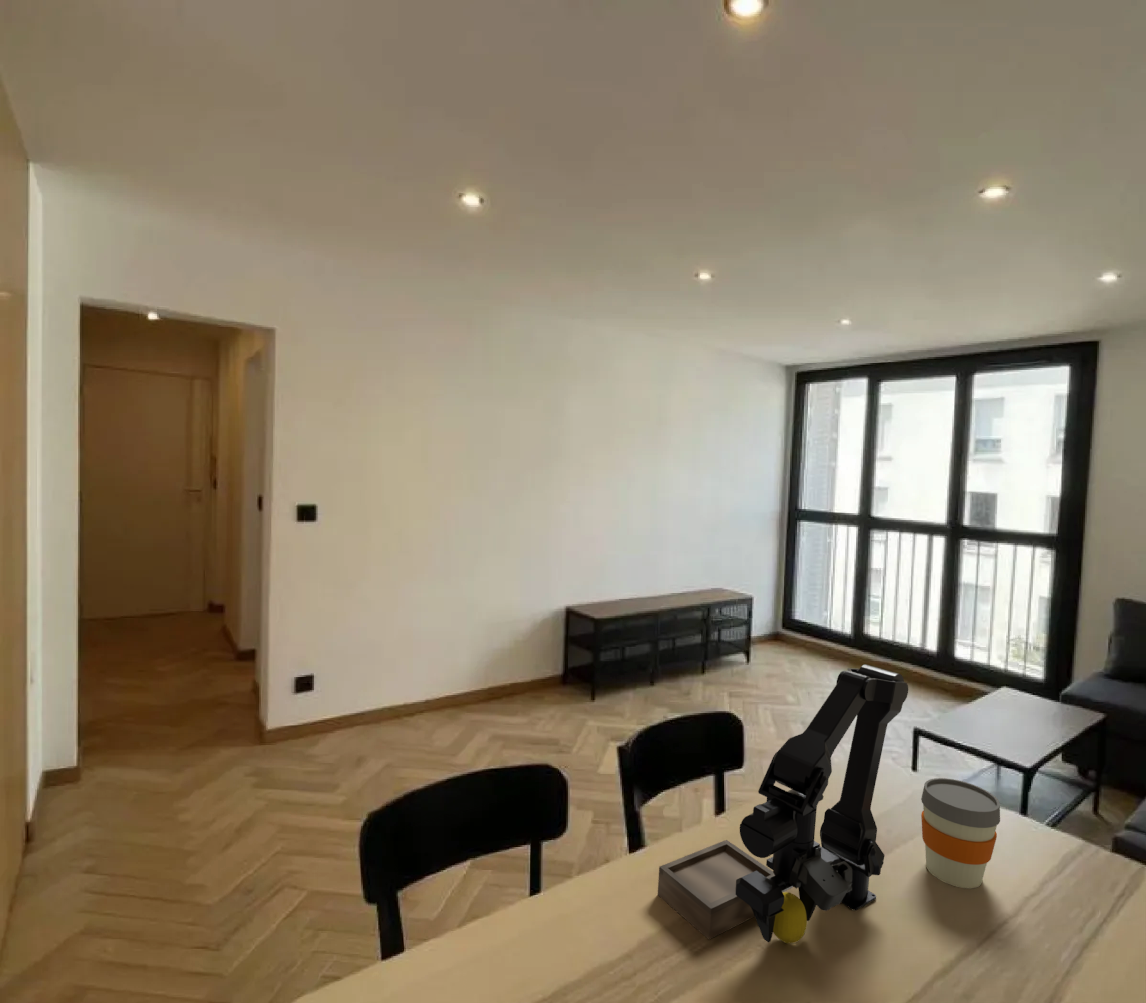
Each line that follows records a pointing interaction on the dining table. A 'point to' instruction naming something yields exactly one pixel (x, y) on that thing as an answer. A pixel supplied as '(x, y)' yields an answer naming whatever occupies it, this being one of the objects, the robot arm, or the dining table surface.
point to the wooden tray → (709, 887)
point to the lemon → (790, 920)
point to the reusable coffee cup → (958, 830)
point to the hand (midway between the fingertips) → (786, 929)
